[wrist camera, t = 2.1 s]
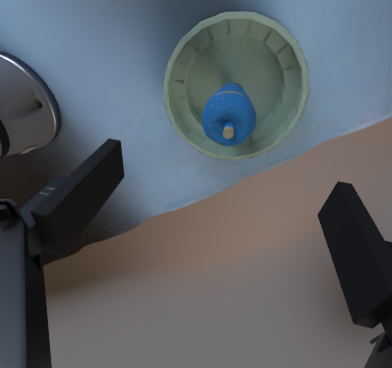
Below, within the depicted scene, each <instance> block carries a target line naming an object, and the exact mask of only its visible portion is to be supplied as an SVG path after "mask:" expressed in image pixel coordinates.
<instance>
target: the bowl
mask: <svg viewBox="0 0 392 368" xmlns="http://www.w3.org/2000/svg"><path fill="white" fill-rule="evenodd" d="M227 83H237V84H239V85H241V86H242V88H243V89H244V91H245V93H246V94H247V95H248V97H249V98H250V100H251V102H252V104H253V106H254V109H255V111H256V125H255V129H254V131H253V132H252V134H251V136H250V137H249V138H248V139H247V140H246V141H244V142H243V143H241V144H239V145H236V146H223V145H220V144H218V143H216V142H215V141H213V140H211V139H210V138H208V137H207V136H206V134H205V132H204V129H203V125H202V113H203V110H204V108H205V105H206V103H207V101H208V100H209V98H210V97H211V96H212V95H213V94H214V93H216V92H217V91H218V90H219V89H220V88H221V87H222V86H224V85H225V84H227ZM163 91H164V103H165V108H166V111H167V113H168V116H169V118H170V121H171V123H172V126H173V127H174V128H175V130H176V131H177V132H178V133H179V135H180V136H181V137H182V139H183V140H184V141H185V142H186V143H188V144H189V145H190V146H192V147H193V148H194V149H196V150H197V151H199V152H200V153H203V154H206V155H208V156H211V157H214V158H216V159H226V160H240V159H246V158H252V157H256V156H258V155H260V154H262V153H264V152H266V151H268V150H270V149H272V148H274V147H275V146H276V145H277V144H279V143H280V142H281V141H282V140H283V139H284V138H285V137H287V136H288V135H289V134H290V133H291V131H292V129H293V128H294V126H295V125H296V123H297V122H298V120H299V119H300V117H301V116H302V113H303V110H304V106H305V103H306V99H307V96H308V92H309V82H308V66H307V63H306V60H305V58H304V56H303V53H302V51H301V48H300V46H299V44H298V42H297V40H296V39H295V38H294V37H293V36H292V35H291V34H290V33H289V32H288V31H287V30H286V29H285V28H284V27H283V26H282V25H281V24H280V23H279V22H277V21H275V20H273V19H271V18H268V17H266V16H263V15H261V14H259V13H256V12H254V11H227V12H224V13H221V14H219V15H216V16H213V17H211V18H208V19H206V20H203V21H201V22H200V23H198V24H197V25H196V26H195V27H194V28H193V29H192V30H190V31H189V32H188V33H187V34H186V35H185V36H184V37H182V38H181V39H180V41H179V43H178V45H177V46H176V48H175V50H174V51H173V53H172V55H171V57H170V58H169V60H168V63H167V68H166V72H165V77H164V82H163Z"/></svg>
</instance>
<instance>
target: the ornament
mask: <svg viewBox="0 0 392 368" xmlns="http://www.w3.org/2000/svg"><path fill="white" fill-rule="evenodd" d="M202 125H203V129H204V132H205V134H206V136H207V137H208V138H210V139H211V140H213V141H215V142H216V143H218V144H220V145H223V146H236V145H239V144H241V143H243V142H244V141H246V140H247V139H248V138H249V137H250V136H251V134H252V132H253V131H254V129H255V125H256V111H255V109H254V106H253V104H252V102H251V100H250V98H249V97H248V95H247V94H246V93H245V91H244V89H243V88H242V86H241V85H239V84H237V83H227V84H225V85H224V86H222V87H221V88H220V89H219V90H218V91H217V92H216V93H214V94H213V95H212V96H211V97H210V98H209V100H208V101H207V103H206V105H205V108H204V110H203V113H202Z"/></svg>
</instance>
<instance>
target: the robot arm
mask: <svg viewBox="0 0 392 368" xmlns="http://www.w3.org/2000/svg"><path fill="white" fill-rule="evenodd" d="M60 126H61V117H60V112H59V108H58V105H57V103H56V100H55V98H54V96H53V94H52V93H51V91H50V90H49V88H48V87H47V85H46V84H45V83H44V81H43V80H42V79H41V78H40V77H39V76H38V74H37V73H36V72H34V71H33V70H32V69H31V68H30V67H29V66H28V65H26V64H25V63H24V62H22V61H21V60H19V59H17V58H16V57H14V56H12V55H10V54H7V53H5V52H1V51H0V159H2V158H3V157H5V156H7V155H11V154H16V153H20V152H22V153H20V154H23V153H28V152H29V151H31V150H34V149H38V148H41V147H43V146H45V145H47V144H48V143H50V142H51V141H53V140H54V139H55V138H56V137H57V135H58V133H59V131H60ZM123 178H124V168H123V158H122V149H121V141H119V140H114V139H108V140H107V141H106V142H105V143H104V144H103V145H101V146H100V147H99V148H98V149H97V150H96V151H95V152H94V153H93V154H92V155H91V156H90V157H89V158H87V159H86V160H85V161H84V162H83V163H82V164H81V165H80V166H79V167H78V168H77V169H76V170H75V171H73V172H72V173H71V174H70V175H69V176H68V177H66V176H60V177H58V178H56V179H54V180H52V181H51V182H50V183H49V184H48V185H46V186H45V188H43V189H42V190H41V191H40V192H39V193H38V194H36V195H35V196H34V197H33V198H32V199H30V200H29V201H28V202H27V203H26V204H25V205H24V206H22V207H21V208H20V209H18V207H17V205H16V203H15V201H13V200H11V199H0V368H52V366H51V354H50V342H49V330H48V319H47V306H46V294H45V283H44V271H43V259H42V254H41V251H42V250H43V249H44V247H45V246H46V247H47V249H48V251H49V253H50V254H55V255H59V256H63V257H65V256H66V254H67V253H68V252H69V250H70V249H71V248H72V246H73V245H74V244H75V242H76V241H77V240H78V238H79V237H80V236H81V234H82V233H83V232H84V230H85V229H86V228H87V226H88V225H89V223H90V222H91V221H92V219H93V218H94V217H95V215H96V214H97V213H98V211H99V210H100V209H101V207H102V206H103V205H104V203H105V202H106V201H107V199H108V198H109V197H110V195H111V194H112V192H113V191H114V190H115V188H116V187H117V186H118V184H119V183H120V182H121V180H122V179H123ZM318 218H319V221H320V224H321V227H322V230H323V233H324V236H325V239H326V242H327V245H328V248H329V251H330V254H331V257H332V260H333V263H334V266H335V269H336V272H337V275H338V278H339V281H340V284H341V288H342V290H343V293H344V296H345V299H346V303H347V306H348V309H349V312H350V315H351V318H352V321H353V324H356V325H360V326H364V327H368V328H374V327H375V326H376V325H378V324H379V323H382V325H383V328H384V330H385V332H383V333H381V334H380V335H378V336H377V337H375V338H374V339H372V340H371V341H370V343H371V344H374V343H375V342H376V345H375V347H374V349H373V351H372V353H371V355H370V357H369V359H368V361H367V363H366V365H365V367H364V368H392V242H388V241H385V240H384V239H383V237H382V235H381V233H380V232H379V230H378V228H377V227H376V225H375V223H374V221H373V220H372V218H371V216H370V215H369V213H368V211H367V209H366V208H365V206H364V205H363V203H362V201H361V199H360V197H359V196H358V194H357V192H356V191H355V189H354V187H353V186H352V184H349V183H344V182H337V184H336V185H335V187H334V189H333V190H332V192H331V194H330V196H329V197H328V199H327V200H326V202H325V204H324V205H323V207H322V209H321V210H320V212H319V213H318Z"/></svg>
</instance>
